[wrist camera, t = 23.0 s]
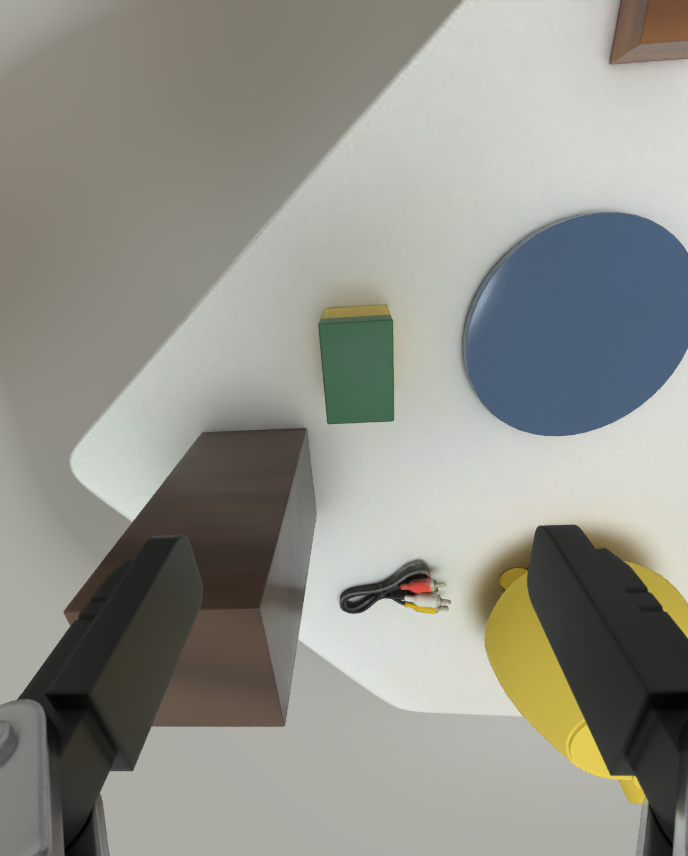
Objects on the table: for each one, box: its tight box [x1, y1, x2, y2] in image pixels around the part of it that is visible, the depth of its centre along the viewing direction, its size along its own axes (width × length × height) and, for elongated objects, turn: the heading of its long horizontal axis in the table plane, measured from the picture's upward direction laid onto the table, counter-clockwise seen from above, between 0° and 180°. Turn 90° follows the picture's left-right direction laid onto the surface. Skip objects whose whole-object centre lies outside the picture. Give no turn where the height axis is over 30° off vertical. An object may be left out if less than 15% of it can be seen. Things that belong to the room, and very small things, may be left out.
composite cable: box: [339, 564, 451, 614], centre depth 36 cm, size 10×5×2 cm, turn 102°
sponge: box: [318, 305, 394, 424], centre depth 25 cm, size 6×4×5 cm, turn 4°
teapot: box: [485, 548, 688, 804], centre depth 31 cm, size 20×16×14 cm
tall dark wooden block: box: [64, 429, 317, 727], centre depth 25 cm, size 8×8×16 cm
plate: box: [463, 212, 688, 436], centre depth 26 cm, size 14×14×1 cm
